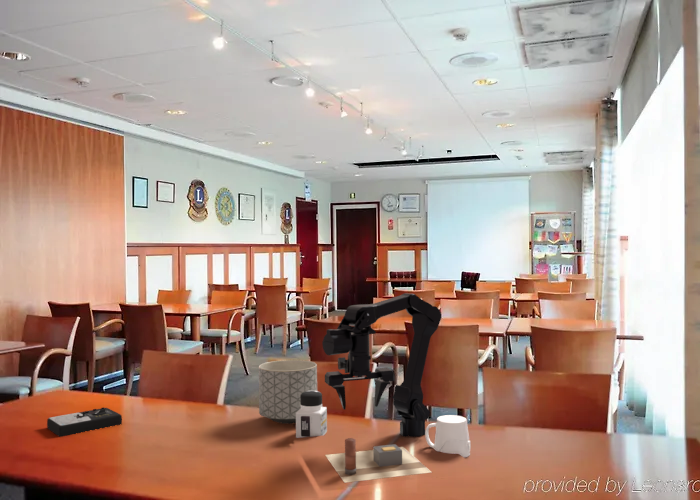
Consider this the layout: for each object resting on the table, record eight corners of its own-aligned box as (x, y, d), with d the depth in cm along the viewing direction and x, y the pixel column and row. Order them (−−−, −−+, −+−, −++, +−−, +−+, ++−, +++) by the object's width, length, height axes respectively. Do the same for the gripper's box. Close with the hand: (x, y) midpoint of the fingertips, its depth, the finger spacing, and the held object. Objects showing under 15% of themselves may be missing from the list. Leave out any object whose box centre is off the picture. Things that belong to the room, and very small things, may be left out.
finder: (395, 457, 155) (395, 443, 155) (402, 464, 150) (402, 449, 150) (373, 460, 154) (373, 445, 154) (379, 466, 149) (379, 451, 149)
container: (321, 439, 175) (320, 395, 175) (295, 438, 176) (295, 394, 177) (327, 432, 182) (326, 389, 183) (302, 430, 184) (302, 388, 184)
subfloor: (403, 451, 164) (403, 446, 164) (432, 477, 145) (432, 472, 145) (325, 459, 158) (325, 455, 158) (344, 487, 139) (344, 482, 139)
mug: (471, 416, 164) (468, 424, 156) (471, 450, 164) (468, 459, 156) (427, 413, 168) (422, 421, 160) (428, 446, 168) (423, 456, 160)
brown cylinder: (354, 470, 147) (354, 437, 147) (357, 474, 144) (357, 441, 144) (343, 471, 146) (343, 438, 146) (346, 475, 143) (346, 442, 143)
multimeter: (122, 425, 194) (122, 410, 194) (59, 438, 181) (59, 422, 181) (107, 417, 204) (107, 403, 204) (46, 429, 191) (46, 413, 191)
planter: (286, 410, 209) (285, 358, 209) (329, 418, 198) (328, 363, 198) (247, 422, 194) (246, 366, 194) (291, 432, 182) (290, 373, 183)
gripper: (381, 344, 175) (382, 398, 175) (319, 349, 170) (320, 403, 170) (394, 350, 164) (395, 407, 164) (329, 355, 159) (330, 413, 159)
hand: (360, 407), depth 165 cm, fingers open, 9 cm apart
